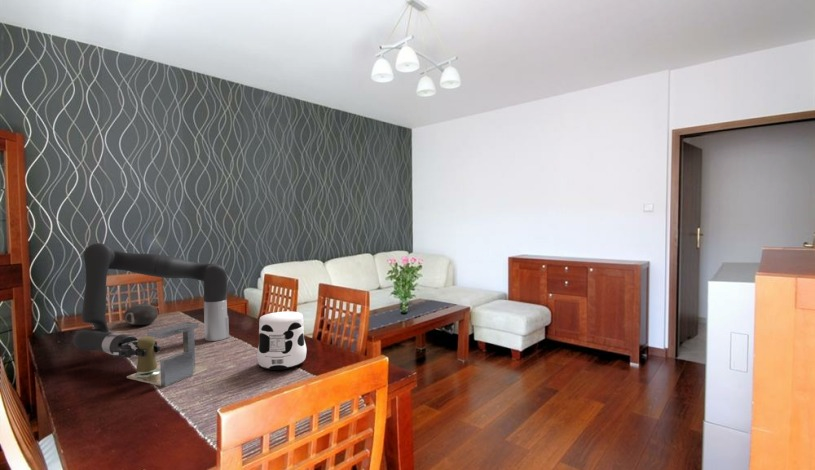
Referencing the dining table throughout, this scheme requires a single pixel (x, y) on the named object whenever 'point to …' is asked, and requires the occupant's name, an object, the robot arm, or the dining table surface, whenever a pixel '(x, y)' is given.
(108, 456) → the dining table surface
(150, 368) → the cork
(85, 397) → the dining table surface
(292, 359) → the milk container
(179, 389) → the dining table surface
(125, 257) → the robot arm
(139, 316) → the decorative stone
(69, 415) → the dining table surface
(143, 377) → the stand
